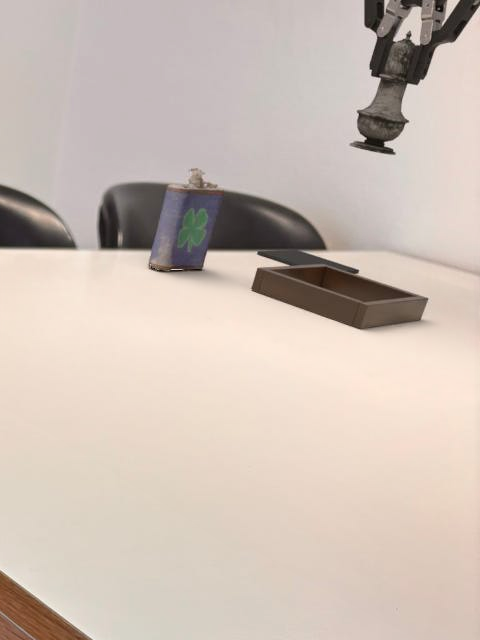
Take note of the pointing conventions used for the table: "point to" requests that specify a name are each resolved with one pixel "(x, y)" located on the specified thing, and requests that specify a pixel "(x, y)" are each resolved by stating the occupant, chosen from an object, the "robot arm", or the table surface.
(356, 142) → the salt shaker
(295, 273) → the tray
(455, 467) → the table surface
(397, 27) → the robot arm
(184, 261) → the flask
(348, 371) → the table surface
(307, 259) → the mat
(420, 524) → the table surface
